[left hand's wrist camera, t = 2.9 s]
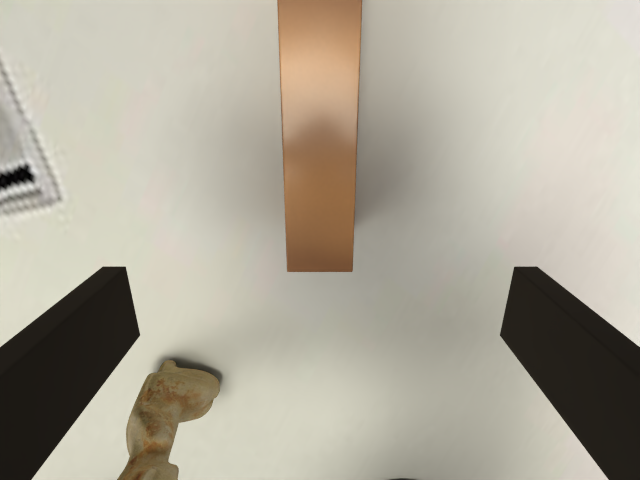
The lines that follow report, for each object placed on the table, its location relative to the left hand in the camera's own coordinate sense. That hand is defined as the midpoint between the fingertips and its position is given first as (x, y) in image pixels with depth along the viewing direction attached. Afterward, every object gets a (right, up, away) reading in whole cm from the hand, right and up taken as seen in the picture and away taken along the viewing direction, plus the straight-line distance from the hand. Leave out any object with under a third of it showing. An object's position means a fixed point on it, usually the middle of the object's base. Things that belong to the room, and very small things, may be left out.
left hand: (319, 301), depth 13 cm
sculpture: (-14, -13, +27) cm, 33 cm away
